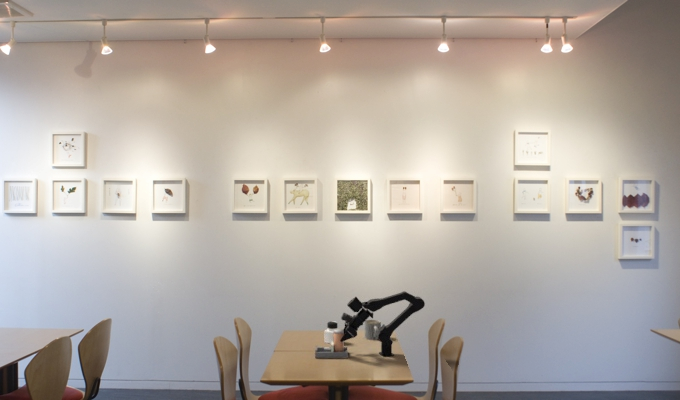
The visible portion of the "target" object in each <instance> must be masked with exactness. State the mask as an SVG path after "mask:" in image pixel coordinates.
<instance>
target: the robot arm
mask: <svg viewBox="0 0 680 400" xmlns="http://www.w3.org/2000/svg"><path fill="white" fill-rule="evenodd" d="M402 301H407V302H408V303H409V304H408V306H407V307H406V308H405V309H404V310H402V311H401V312H400V313H399V314H398V315H397V316H396V317H395V318H394V319H393V320H392V321H391V322H389V324H387V325H385V324H381V327H380V328H378V329H379V330H378V331H377V336H378V340H379V342H381V343H380V344H381V345H380V351H379V352H378V354H379V355H381V356H382V357H385V358H386V357H393V356H395V354H394V353H393V349H392V348H393V347H392V346H393V339H392V335H393V332H394V331H395V330H397V328H399V327H400V326H401V325H402V324H403V323H404V322H405V321H406V320H407V319H409V318H410V317H411V316H412V315H413V314H416V313H418V312H419V311H421V310H422V309H423V308H424V307H425V304H426V303H425V300H424V299H423V298H422V297H421V296H415V295H413V294H410V293H409V292H407V291H405V290H404V291H403V290H402V291H401V292H398V293H396V294H393V295H389V296H385V297H381V298H370V299H369V300H368V301H364V302H362V301H361V300H360V299H359V298H358V297H357V296H355V297H354V298H351V299H350V300H349V301H348V303H346V304H347V307H348V308H349V309H350V310H351V311H352V312H353V313H356V314H354V315H353V316H352V315H350V314H348V313H346V312H343V313H342V315H341V318H340V319H341V320H342V321H344V328H342V329H343V330H344V335H343V337H342V338H341V340H340V341H341V342H343V341H344V342H346V341H347V340H350V339H354V338H356V337H357V336H358V329H359V328H360V327H361V326H363V325H364V324H365V321H366V320H368V319H369V317H370V318H371V319H374V312H377V311H379V310H380V309H382V308H384V307H385V306H389V305H392V304H396V303H399V302H402Z"/></svg>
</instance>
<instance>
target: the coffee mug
mask: <svg viewBox="0 0 680 400" xmlns="http://www.w3.org/2000/svg"><path fill="white" fill-rule="evenodd" d="M381 326H382V321H381V320H379V319H367V320H366V321H365V322H364V339H366V340H367V341H368V340H370V341H376V340H377V341H378V340H379V339H378V336H377V331H378V330H379V329H378V328H380V327H381Z"/></svg>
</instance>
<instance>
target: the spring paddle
mask: <svg viewBox="0 0 680 400" xmlns="http://www.w3.org/2000/svg"><path fill="white" fill-rule="evenodd" d="M330 345H331V346H330V347H329V346H326V347H327V348H324V350H331V352H334V343H333V342H331V344H330Z"/></svg>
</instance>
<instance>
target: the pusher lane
mask: <svg viewBox="0 0 680 400" xmlns="http://www.w3.org/2000/svg"><path fill="white" fill-rule="evenodd" d="M327 347H328V346H325V347H324V346H320V347H319V346H318V345H315V349H314V350H315V353H314V354H315V355H314V357H315V359H348V358H349V352H348V346H344V352H331V350H324V348H327Z"/></svg>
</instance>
